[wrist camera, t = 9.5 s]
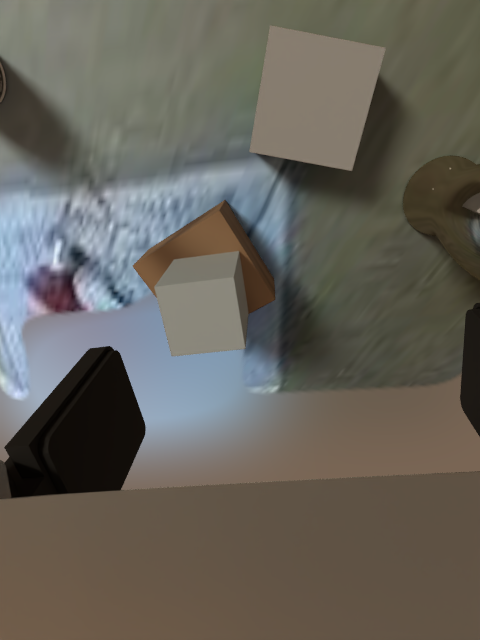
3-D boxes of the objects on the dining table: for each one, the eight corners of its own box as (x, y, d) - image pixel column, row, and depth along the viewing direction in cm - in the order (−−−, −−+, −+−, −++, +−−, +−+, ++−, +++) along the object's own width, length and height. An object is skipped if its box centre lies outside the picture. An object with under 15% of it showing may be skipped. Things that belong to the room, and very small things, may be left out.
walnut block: (225, 199, 33) (219, 210, 28) (274, 278, 36) (275, 299, 31) (149, 248, 35) (132, 266, 31) (200, 319, 38) (192, 344, 33)
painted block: (239, 250, 30) (233, 277, 24) (248, 311, 32) (245, 348, 26) (173, 259, 30) (154, 286, 25) (187, 319, 32) (171, 356, 27)
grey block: (366, 61, 28) (385, 48, 24) (339, 165, 31) (351, 170, 27) (269, 42, 28) (270, 25, 24) (251, 148, 31) (249, 151, 27)
